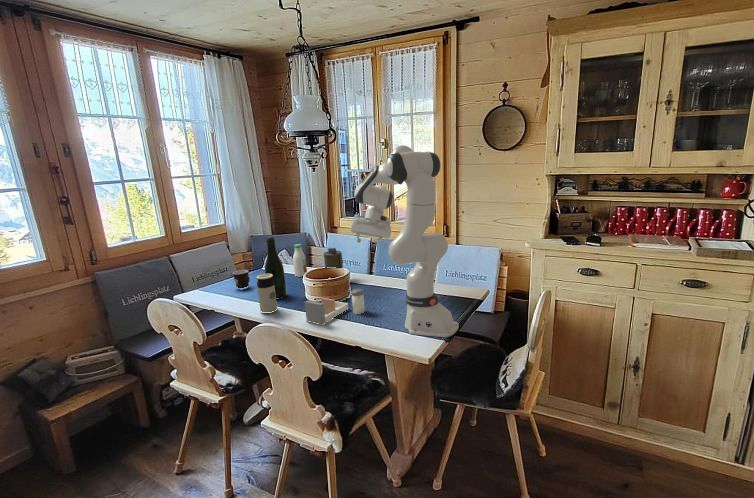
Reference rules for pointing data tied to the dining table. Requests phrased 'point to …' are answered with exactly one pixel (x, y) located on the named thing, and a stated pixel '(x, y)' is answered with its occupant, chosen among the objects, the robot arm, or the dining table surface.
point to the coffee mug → (241, 278)
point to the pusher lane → (337, 310)
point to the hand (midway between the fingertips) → (367, 244)
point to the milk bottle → (299, 261)
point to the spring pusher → (328, 305)
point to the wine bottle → (275, 268)
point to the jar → (358, 301)
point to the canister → (333, 258)
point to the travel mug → (266, 293)
